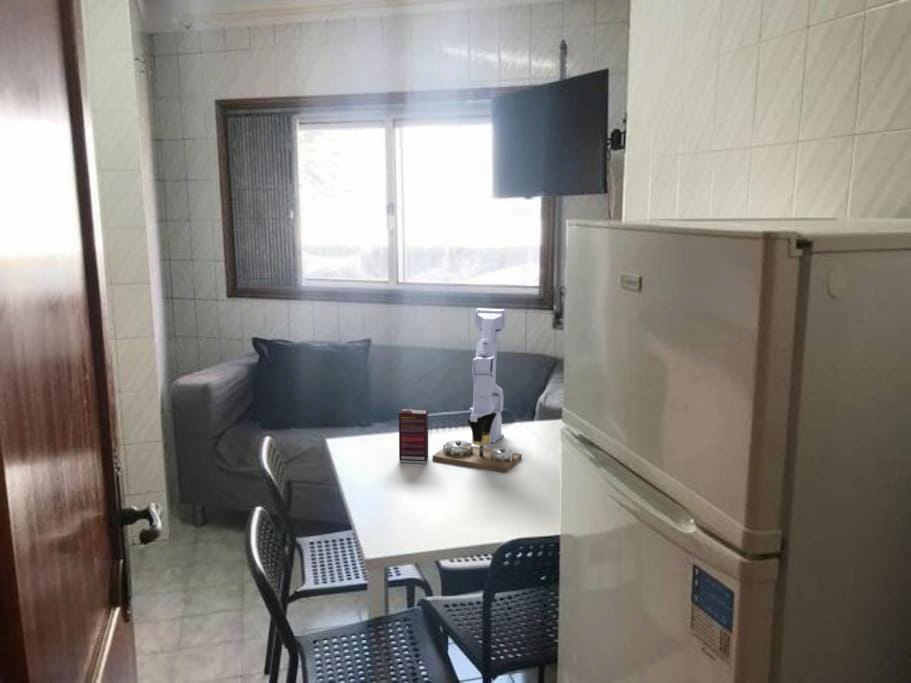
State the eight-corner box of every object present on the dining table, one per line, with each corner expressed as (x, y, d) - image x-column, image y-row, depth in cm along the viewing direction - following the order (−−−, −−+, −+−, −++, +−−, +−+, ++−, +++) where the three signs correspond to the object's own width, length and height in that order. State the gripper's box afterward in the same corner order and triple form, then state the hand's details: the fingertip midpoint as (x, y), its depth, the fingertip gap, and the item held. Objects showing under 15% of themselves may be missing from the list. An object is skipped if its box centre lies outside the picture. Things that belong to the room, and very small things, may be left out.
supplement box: (428, 459, 233) (429, 409, 230) (426, 464, 228) (427, 413, 225) (401, 457, 234) (401, 408, 231) (398, 462, 229) (398, 412, 226)
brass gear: (476, 438, 235) (476, 429, 235) (493, 441, 233) (493, 432, 232) (468, 444, 230) (469, 434, 230) (486, 446, 228) (486, 437, 227)
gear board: (451, 447, 244) (451, 432, 243) (521, 458, 235) (521, 442, 234) (432, 460, 232) (432, 444, 231) (505, 472, 222) (506, 456, 221)
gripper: (479, 388, 237) (478, 430, 240) (461, 399, 224) (460, 443, 226) (500, 391, 234) (499, 433, 237) (483, 402, 221) (482, 446, 224)
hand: (481, 438), depth 231 cm, fingers closed on brass gear, 6 cm apart
